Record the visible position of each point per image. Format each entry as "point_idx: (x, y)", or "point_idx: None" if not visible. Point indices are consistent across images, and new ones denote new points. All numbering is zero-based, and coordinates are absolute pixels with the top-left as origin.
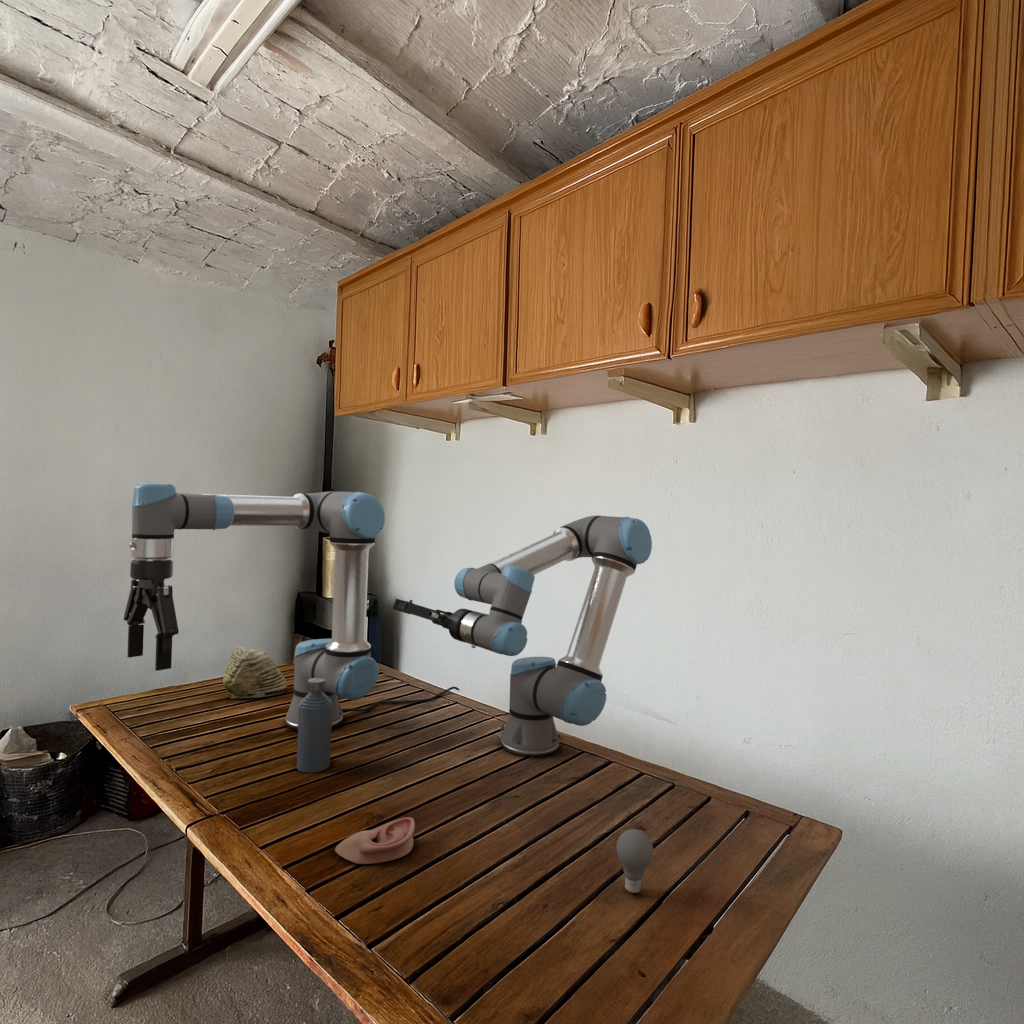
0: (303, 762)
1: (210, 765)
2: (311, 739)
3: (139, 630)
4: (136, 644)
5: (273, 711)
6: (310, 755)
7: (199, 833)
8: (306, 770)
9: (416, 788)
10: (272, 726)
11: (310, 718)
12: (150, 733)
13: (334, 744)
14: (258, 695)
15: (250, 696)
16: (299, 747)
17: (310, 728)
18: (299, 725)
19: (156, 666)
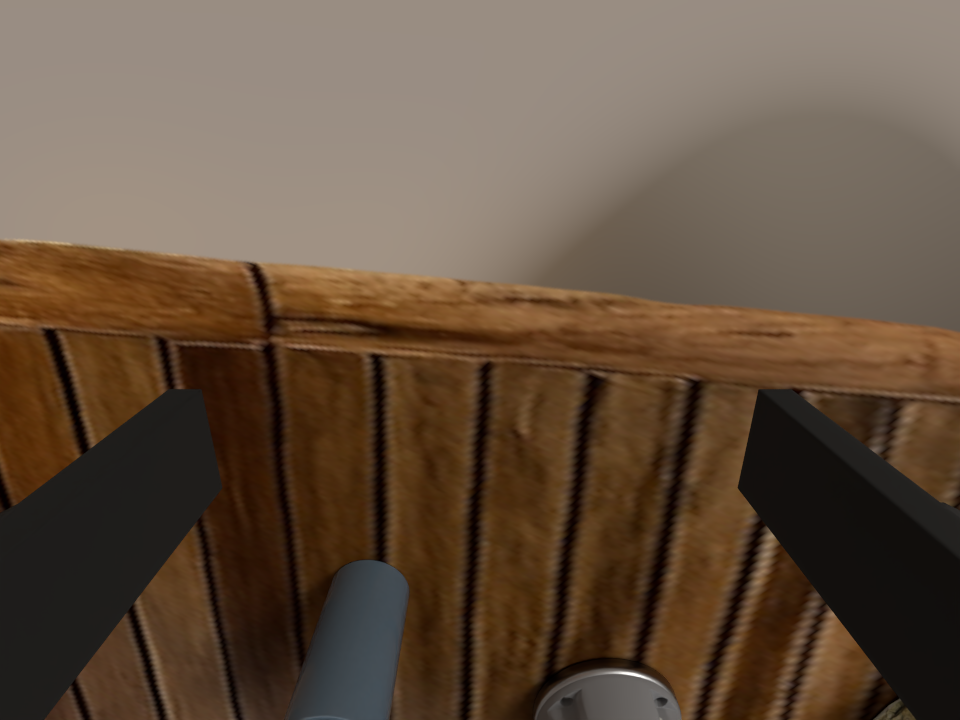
0: (348, 578)
1: (552, 443)
2: (316, 638)
3: (917, 660)
4: (807, 508)
5: (756, 687)
6: (329, 601)
7: (197, 265)
8: (344, 567)
9: (126, 656)
10: (665, 642)
11: (300, 693)
12: (902, 429)
13: (448, 672)
14: (885, 715)
15: (901, 701)
16: (357, 604)
17: (309, 664)
18: (348, 657)
19: (156, 404)
